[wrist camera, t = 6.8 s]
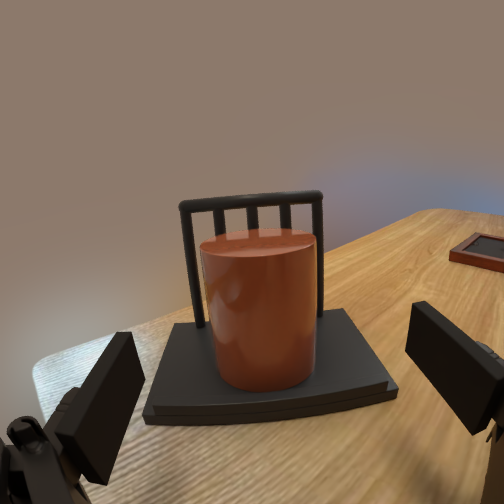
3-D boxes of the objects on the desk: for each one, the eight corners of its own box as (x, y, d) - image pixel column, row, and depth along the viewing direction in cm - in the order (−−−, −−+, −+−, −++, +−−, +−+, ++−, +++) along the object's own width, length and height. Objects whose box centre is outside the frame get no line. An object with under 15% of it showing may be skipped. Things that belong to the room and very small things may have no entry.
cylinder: (214, 396, 20) (192, 261, 18) (219, 340, 28) (205, 233, 25) (326, 385, 20) (330, 249, 18) (305, 332, 28) (303, 225, 25)
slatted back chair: (145, 424, 18) (90, 232, 15) (175, 331, 32) (155, 202, 28) (396, 398, 19) (422, 206, 15) (342, 316, 32) (343, 188, 29)
